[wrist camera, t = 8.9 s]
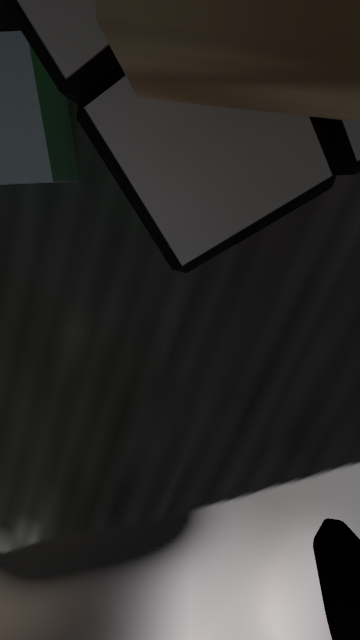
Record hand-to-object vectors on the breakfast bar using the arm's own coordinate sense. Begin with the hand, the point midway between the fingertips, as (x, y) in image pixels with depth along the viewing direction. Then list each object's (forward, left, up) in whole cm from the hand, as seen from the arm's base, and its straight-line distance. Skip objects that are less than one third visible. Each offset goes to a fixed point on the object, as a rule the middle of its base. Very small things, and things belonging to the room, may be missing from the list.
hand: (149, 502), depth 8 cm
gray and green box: (-9, +8, -13) cm, 18 cm away
